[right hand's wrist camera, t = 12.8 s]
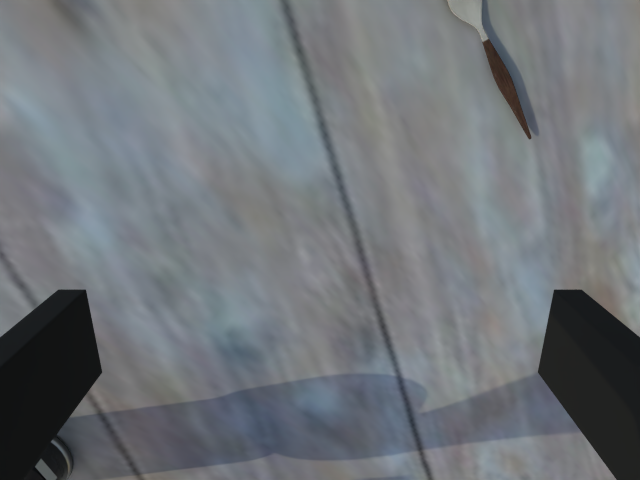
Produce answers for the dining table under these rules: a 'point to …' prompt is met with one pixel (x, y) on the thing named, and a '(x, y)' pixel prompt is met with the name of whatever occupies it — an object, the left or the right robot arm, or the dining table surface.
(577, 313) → the right robot arm
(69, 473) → the left robot arm
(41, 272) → the dining table surface
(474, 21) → the fork
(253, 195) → the dining table surface
